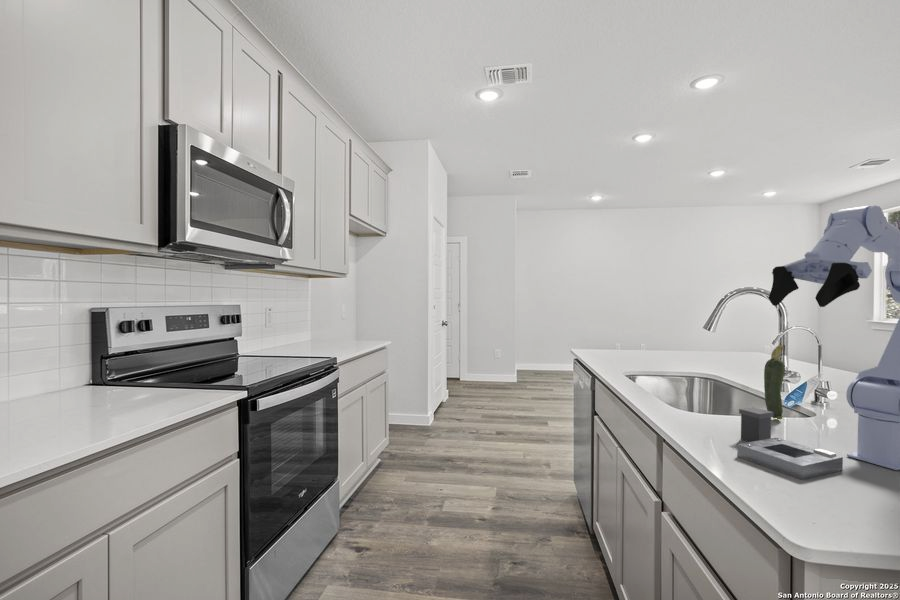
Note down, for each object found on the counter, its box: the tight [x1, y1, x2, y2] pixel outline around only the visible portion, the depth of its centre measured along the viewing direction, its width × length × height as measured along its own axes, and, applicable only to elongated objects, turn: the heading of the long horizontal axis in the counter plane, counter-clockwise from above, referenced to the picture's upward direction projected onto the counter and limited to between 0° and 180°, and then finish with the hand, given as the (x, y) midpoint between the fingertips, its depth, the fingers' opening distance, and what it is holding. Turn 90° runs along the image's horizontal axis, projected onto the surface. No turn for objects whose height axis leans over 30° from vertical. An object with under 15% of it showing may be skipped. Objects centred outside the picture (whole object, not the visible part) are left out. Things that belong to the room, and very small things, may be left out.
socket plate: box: [736, 437, 844, 481], centre depth 87 cm, size 12×12×3 cm
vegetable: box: [763, 344, 786, 420], centre depth 117 cm, size 4×4×20 cm
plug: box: [738, 406, 774, 443], centre depth 100 cm, size 5×5×7 cm
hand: (795, 302), depth 78 cm, fingers open, 7 cm apart
